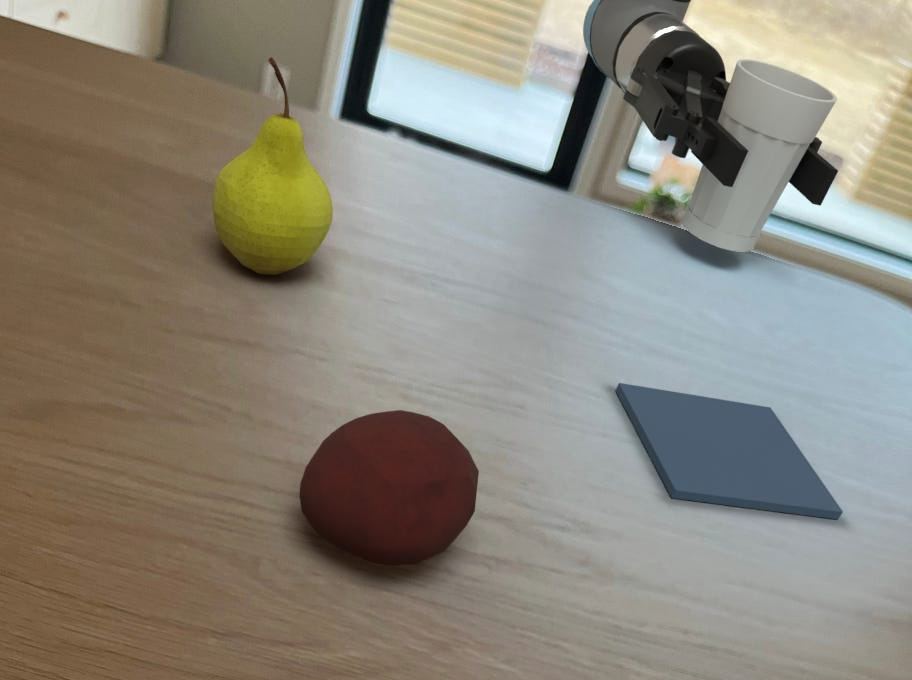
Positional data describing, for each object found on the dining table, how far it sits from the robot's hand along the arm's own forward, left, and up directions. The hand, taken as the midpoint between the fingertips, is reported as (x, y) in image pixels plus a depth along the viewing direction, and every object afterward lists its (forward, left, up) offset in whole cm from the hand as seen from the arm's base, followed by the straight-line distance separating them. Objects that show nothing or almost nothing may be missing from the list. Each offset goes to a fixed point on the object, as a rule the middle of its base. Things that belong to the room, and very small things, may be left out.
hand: (781, 177), depth 79 cm
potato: (+34, +38, -9) cm, 52 cm away
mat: (+11, +26, -9) cm, 30 cm away
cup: (0, -5, -7) cm, 8 cm away
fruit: (+38, +12, -9) cm, 41 cm away
